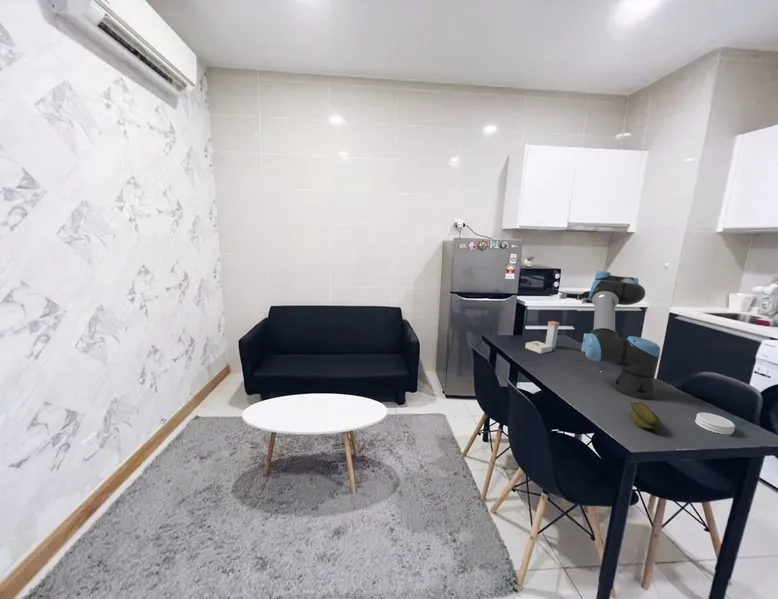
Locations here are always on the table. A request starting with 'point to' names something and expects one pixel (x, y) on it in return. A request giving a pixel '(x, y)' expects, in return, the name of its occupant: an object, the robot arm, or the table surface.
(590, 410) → the table surface
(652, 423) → the fruit
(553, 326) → the plug
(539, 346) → the white square base
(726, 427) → the white ridged lid
